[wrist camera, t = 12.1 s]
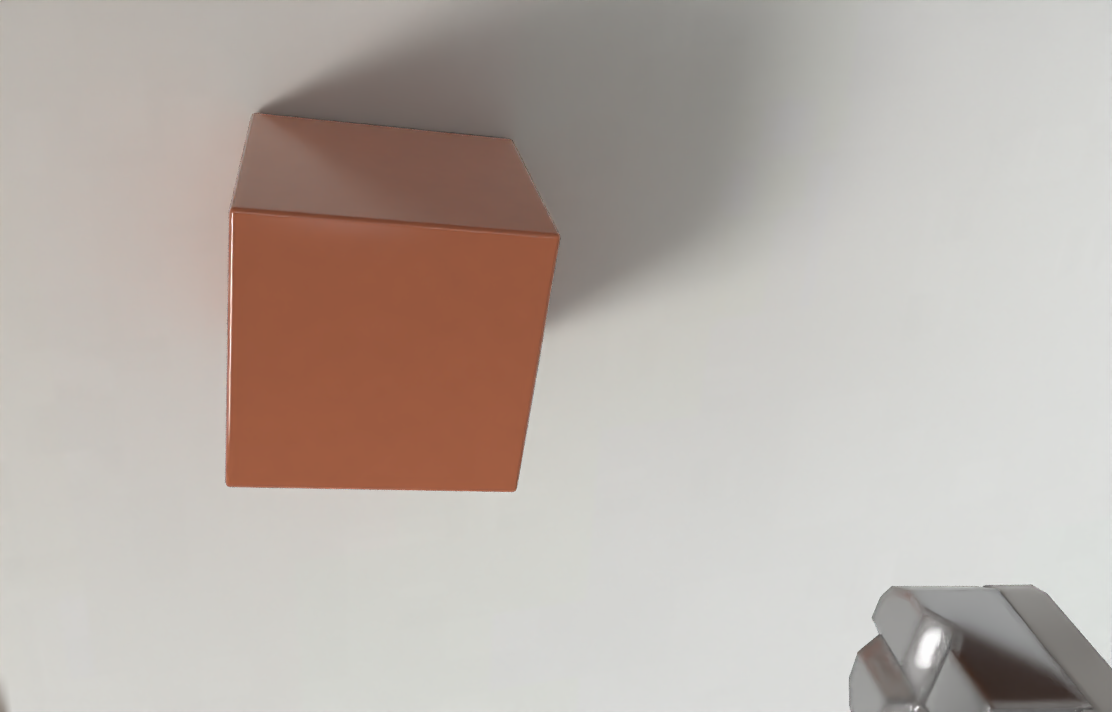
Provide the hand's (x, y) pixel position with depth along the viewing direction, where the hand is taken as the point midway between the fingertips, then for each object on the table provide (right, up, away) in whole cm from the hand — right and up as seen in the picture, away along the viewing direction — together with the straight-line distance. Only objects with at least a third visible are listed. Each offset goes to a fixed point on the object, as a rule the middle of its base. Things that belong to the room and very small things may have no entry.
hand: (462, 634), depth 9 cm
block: (-2, +4, +8) cm, 9 cm away
